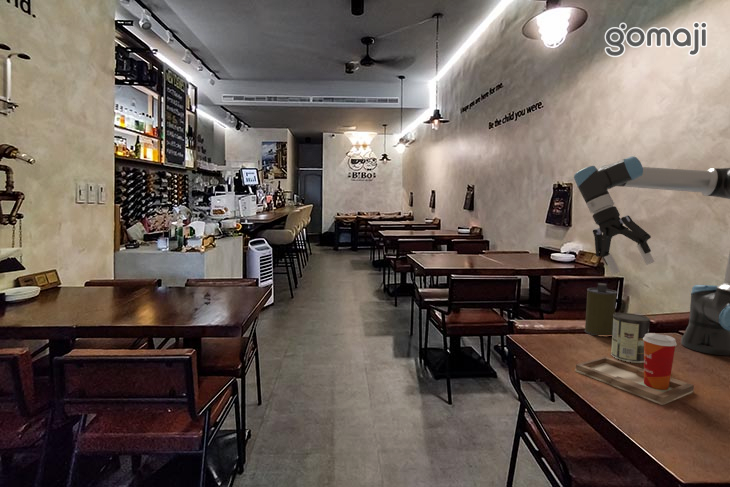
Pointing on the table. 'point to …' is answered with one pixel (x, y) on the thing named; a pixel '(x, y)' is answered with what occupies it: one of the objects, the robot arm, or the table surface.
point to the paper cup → (658, 360)
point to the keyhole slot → (631, 379)
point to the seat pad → (655, 389)
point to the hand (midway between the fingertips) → (632, 268)
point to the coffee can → (629, 337)
